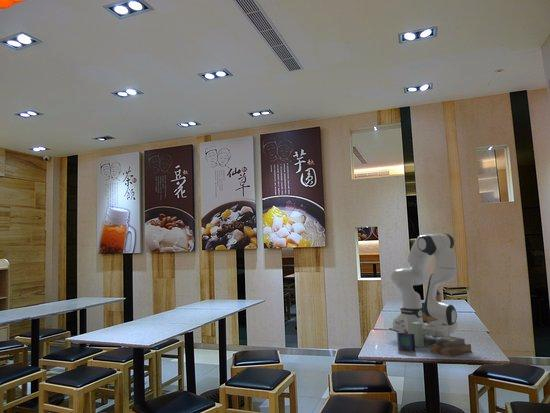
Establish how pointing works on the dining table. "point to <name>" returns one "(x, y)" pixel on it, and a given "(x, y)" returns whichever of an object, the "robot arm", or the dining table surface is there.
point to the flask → (406, 341)
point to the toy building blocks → (424, 317)
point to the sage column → (418, 333)
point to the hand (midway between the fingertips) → (420, 332)
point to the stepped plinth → (451, 350)
